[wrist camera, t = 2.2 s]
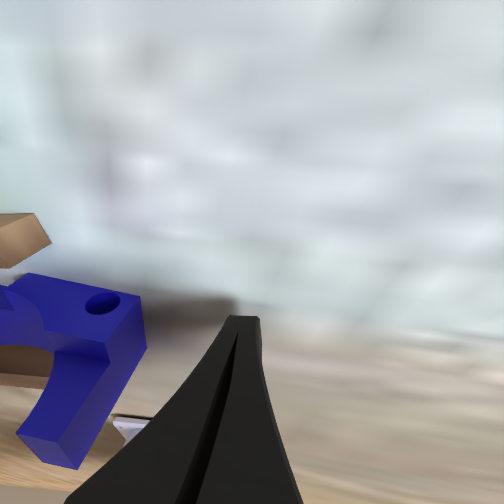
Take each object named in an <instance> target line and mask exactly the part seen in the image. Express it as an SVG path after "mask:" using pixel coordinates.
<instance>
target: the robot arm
mask: <svg viewBox="0 0 504 504" xmlns="http://www.w3.org/2000/svg"><path fill="white" fill-rule="evenodd" d="M112 423H113V425H114V426H115V427H116V428H117V430H118V431H119V432H120V433H121V434H122V436H123V437H124V438H125V439H126V441H125V443H124V445H123V447H122V449H121V450H120V451H119V452H118V453H117V454H116V455H115V456H114V457H113V458H111V459H110V460H109V461H108V462H107V463H106V464H105V465H104V466H103V467H101V468H100V469H99V470H98V471H97V472H96V473H95V474H93V475H92V476H91V477H90V478H89V479H88V480H87V481H85V482H84V483H83V484H82V485H81V486H80V487H79V488H77V489H76V490H75V491H74V492H73V493H72V494H70V495H69V496H68V497H67V499H66V500H65V502H64V504H304V503H303V501H302V498H301V495H300V492H299V490H298V487H297V484H296V481H295V478H294V476H293V473H292V470H291V467H290V464H289V461H288V458H287V455H286V452H285V449H284V446H283V443H282V440H281V437H280V433H279V430H278V427H277V423H276V420H275V417H274V413H273V409H272V406H271V402H270V398H269V394H268V390H267V386H266V381H265V377H264V372H263V367H262V339H261V328H260V318H258V317H257V316H235V315H230V316H229V317H228V318H227V320H226V321H225V323H224V325H223V327H222V328H221V330H220V332H219V333H218V335H217V337H216V338H215V340H214V341H213V343H212V344H211V346H210V347H209V349H208V350H207V352H206V353H205V355H204V356H203V358H202V359H201V361H200V362H199V363H198V365H197V366H196V367H195V369H194V370H193V371H192V373H191V374H190V375H189V377H188V378H187V379H186V380H185V382H184V383H183V384H182V385H181V387H180V388H179V389H178V390H177V391H176V393H175V394H174V395H173V396H172V397H171V398H170V400H169V401H168V402H167V403H166V404H165V405H164V406H163V407H162V409H161V410H160V411H159V412H158V413H157V414H156V415H155V416H154V417H153V418H152V419H151V420H143V419H134V418H125V417H115V418H114V420H113V422H112Z"/></svg>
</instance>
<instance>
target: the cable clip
mask: <svg viewBox="0 0 504 504" xmlns="http://www.w3.org/2000/svg"><path fill="white" fill-rule="evenodd" d="M1 345H27V346H34V347H38V348H41V349H44V350H47V351H49V352H51V353H52V354H54V362H53V368H52V371H51V374H50V378H49V380H48V382H47V385H46V387H45V389H44V391H43V393H42V395H41V397H40V399H39V400H38V402H37V404H36V405H35V407H34V408H33V410H32V411H31V413H30V415H29V416H28V418H27V419H26V420H25V421H24V423H23V424H22V425H21V427H20V428H19V429H18V431H17V432H16V434H17V435H18V437H19V438H20V439H21V440H22V441H23V442H24V443H25V444H26V445H27V446H28V447H29V448H30V449H31V450H32V451H33V453H34V454H35V455H36V456H37V457H38V458H39V459H40V460H41V461H42V462H43V463H48V464H52V465H57V466H61V467H65V468H70V469H74V470H78V468H79V466H80V465H81V463H82V461H83V459H84V458H85V456H86V454H87V452H88V451H89V449H90V447H91V445H92V444H93V442H94V440H95V438H96V437H97V435H98V433H99V431H100V430H101V428H102V426H103V424H104V423H105V421H106V419H107V417H108V416H109V414H110V412H111V410H112V409H113V407H114V405H115V403H116V402H117V400H118V398H119V396H120V395H121V393H122V391H123V389H124V387H125V386H126V384H127V382H128V380H129V379H130V377H131V375H132V373H133V372H134V370H135V368H136V366H137V365H138V363H139V361H140V359H141V358H142V356H143V354H144V352H145V351H146V349H147V346H146V339H145V331H144V323H143V316H142V308H141V300H140V296H136V295H131V294H127V293H122V292H117V291H113V290H108V289H103V288H99V287H94V286H89V285H85V284H80V283H75V282H71V281H66V280H61V279H57V278H52V277H47V276H43V275H38V274H33V273H28V274H26V275H25V276H23V277H22V278H20V279H19V280H17V281H16V282H14V283H12V284H11V285H9V286H8V287H6V286H2V285H0V346H1Z"/></svg>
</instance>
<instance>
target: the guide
mask: <svg viewBox="0 0 504 504" xmlns="http://www.w3.org/2000/svg"><path fill="white" fill-rule="evenodd" d="M50 244H51V241H50V240H49V238H48V236H47V235H46V233H45V232H44V230H43V228H42V227H41V225H40V223H39V222H38V220H37V218H36V217H35V215H34V213H29V214H0V268H11V267H13V266H15V265H16V264H18V263H20V262H21V261H23V260H25V259H26V258H28V257H30V256H31V255H33V254H35V253H36V252H38V251H40V250H41V249H43V248H45V247H46V246H48V245H50ZM53 362H54V354H52V353H51V352H49V351H47V350H44V349H41V348H38V347H34V346H27V345H1V346H0V385H5V386H15V387H25V388H35V389H45V387H46V385H47V382H48V380H49V378H50V374H51V371H52V368H53Z"/></svg>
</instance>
